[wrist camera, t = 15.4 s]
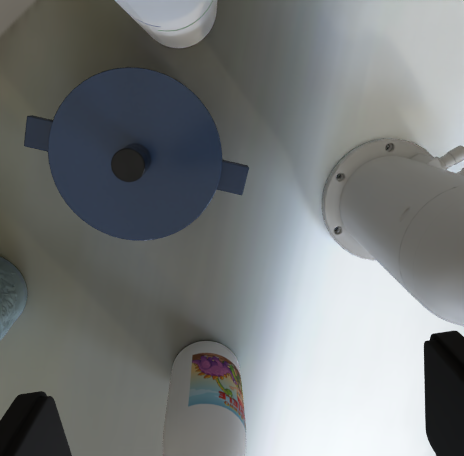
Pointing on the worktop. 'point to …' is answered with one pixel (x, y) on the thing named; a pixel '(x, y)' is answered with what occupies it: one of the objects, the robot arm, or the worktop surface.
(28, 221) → the worktop surface
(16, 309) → the grey green cup
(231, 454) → the milk bottle
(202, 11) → the cylindrical container
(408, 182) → the robot arm
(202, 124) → the pot lid
